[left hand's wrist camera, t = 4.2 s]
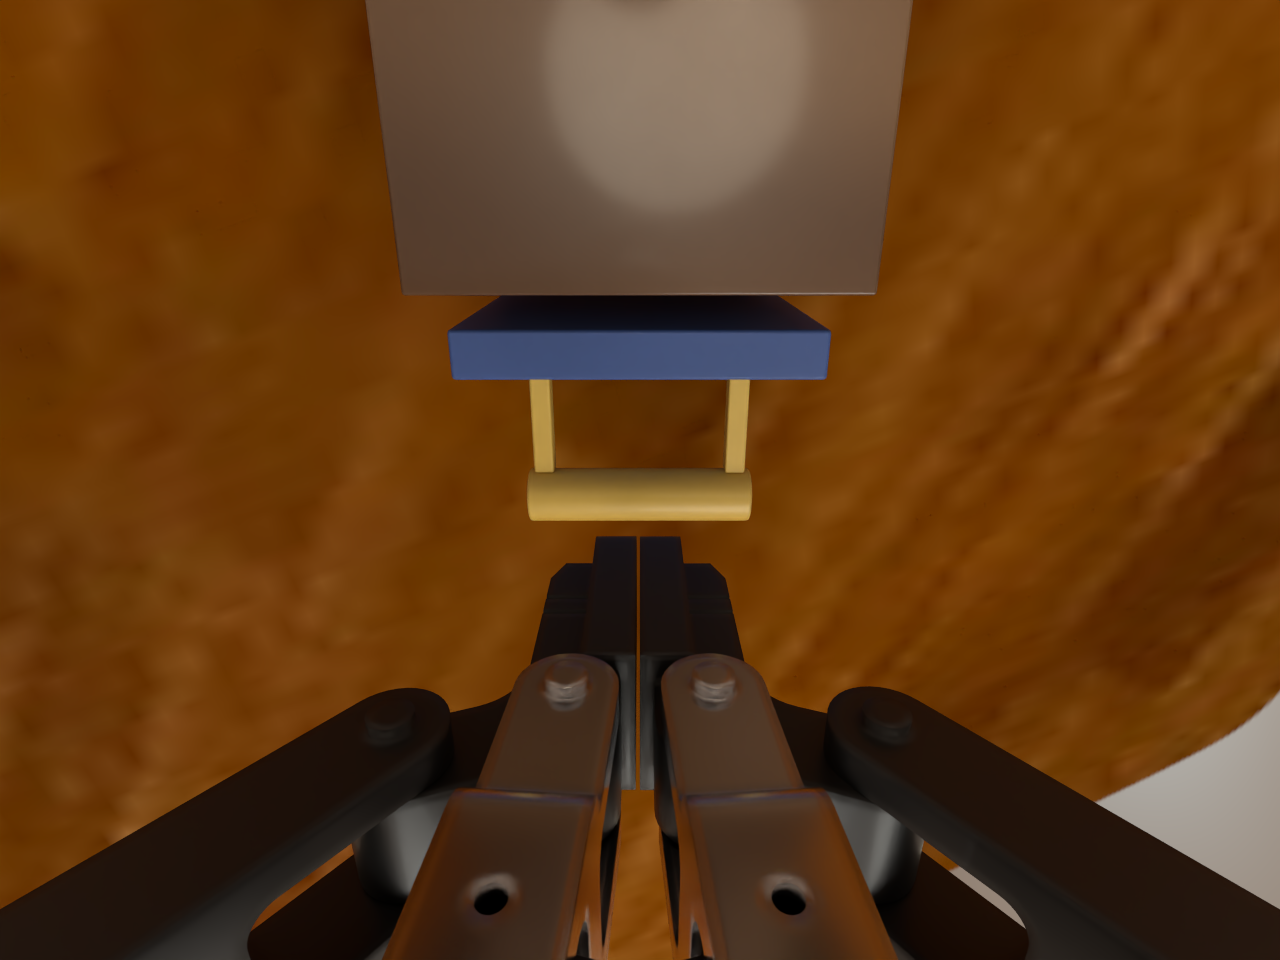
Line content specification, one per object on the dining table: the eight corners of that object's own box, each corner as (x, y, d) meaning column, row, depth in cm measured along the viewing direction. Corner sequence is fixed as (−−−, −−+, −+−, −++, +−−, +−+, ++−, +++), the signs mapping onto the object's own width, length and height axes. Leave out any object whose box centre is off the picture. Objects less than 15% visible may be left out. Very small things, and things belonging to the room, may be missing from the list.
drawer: (758, 466, 26) (807, 574, 18) (520, 466, 26) (471, 574, 18) (817, -397, 17) (956, -868, 10) (461, -396, 17) (321, -868, 10)
